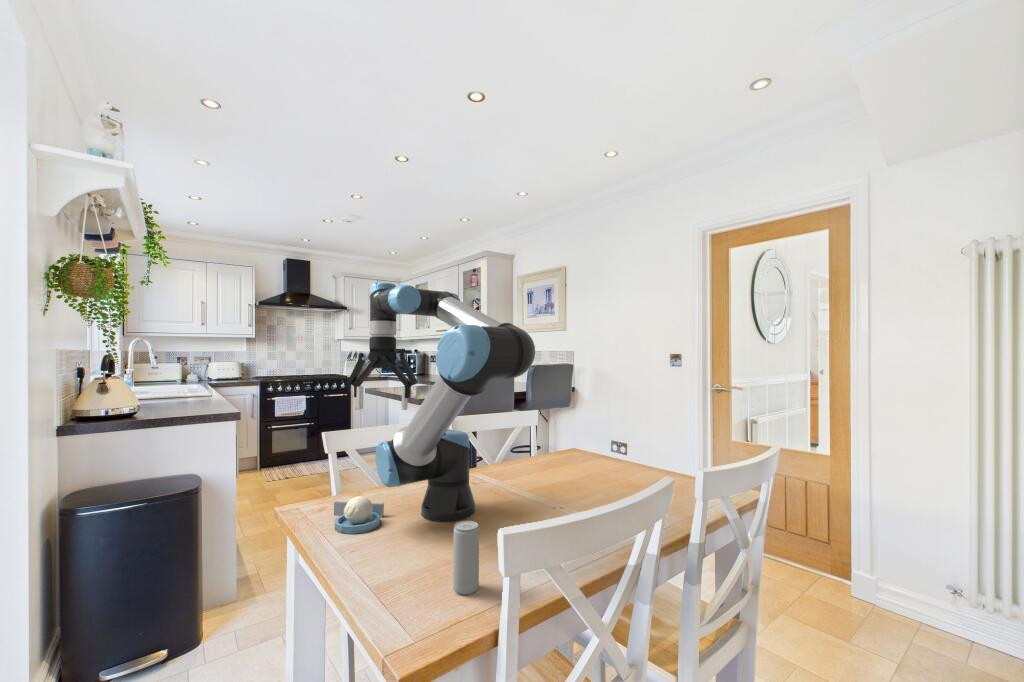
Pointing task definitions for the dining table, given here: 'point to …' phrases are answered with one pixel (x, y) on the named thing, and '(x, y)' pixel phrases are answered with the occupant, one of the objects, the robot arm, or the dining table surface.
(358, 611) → the dining table surface
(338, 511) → the panel
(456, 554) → the beverage can
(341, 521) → the saucer
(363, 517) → the cream creased ball
